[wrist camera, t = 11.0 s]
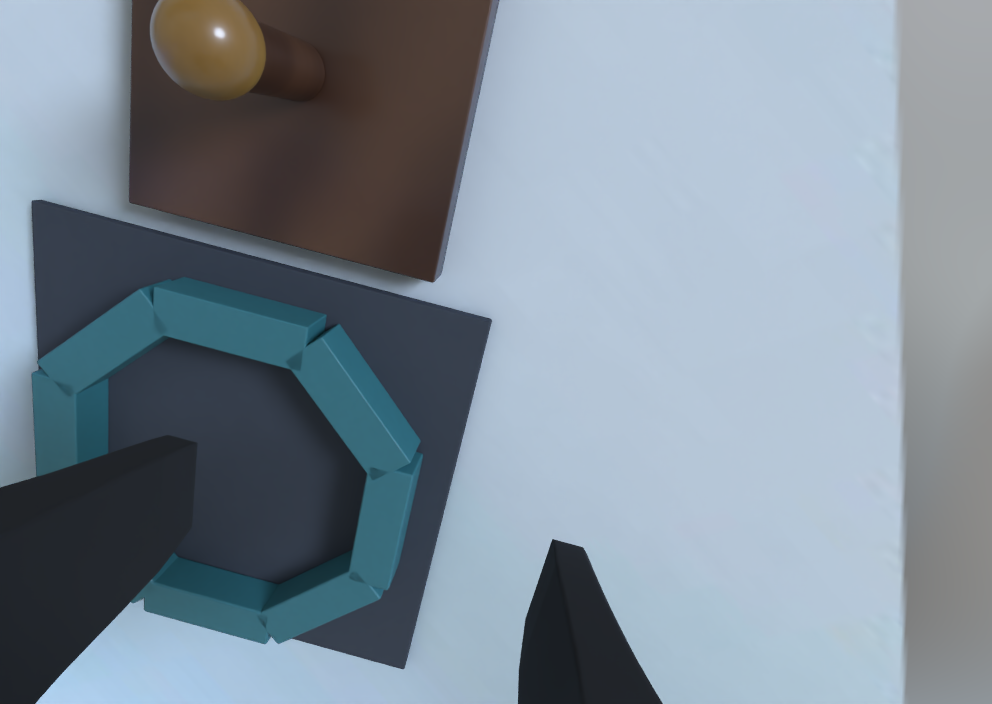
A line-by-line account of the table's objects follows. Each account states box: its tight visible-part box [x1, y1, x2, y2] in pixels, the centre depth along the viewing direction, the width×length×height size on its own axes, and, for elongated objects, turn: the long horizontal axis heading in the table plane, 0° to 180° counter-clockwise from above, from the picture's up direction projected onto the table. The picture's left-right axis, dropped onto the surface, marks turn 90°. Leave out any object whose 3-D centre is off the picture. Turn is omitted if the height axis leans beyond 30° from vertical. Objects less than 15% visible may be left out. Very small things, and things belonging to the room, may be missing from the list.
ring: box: [32, 277, 423, 644], centre depth 21 cm, size 14×14×2 cm
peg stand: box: [129, 0, 499, 282], centre depth 14 cm, size 10×10×7 cm
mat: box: [32, 200, 492, 669], centre depth 22 cm, size 16×16×1 cm
